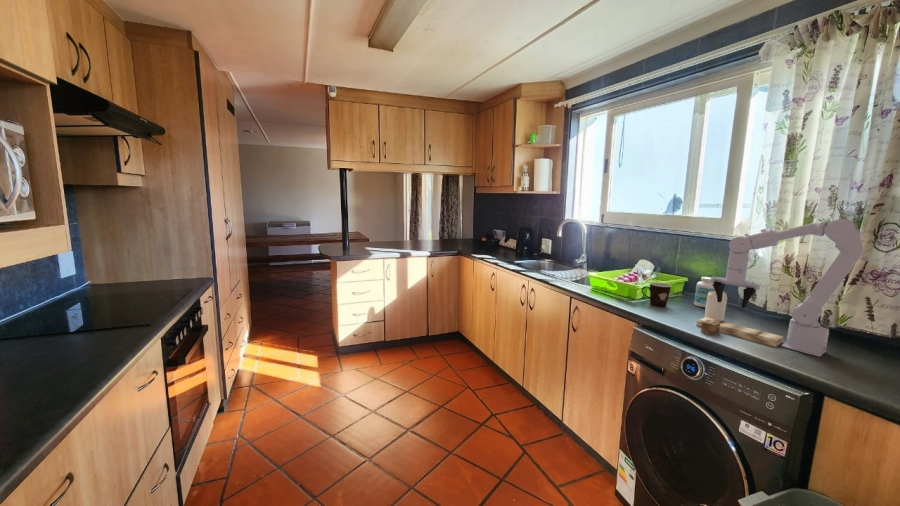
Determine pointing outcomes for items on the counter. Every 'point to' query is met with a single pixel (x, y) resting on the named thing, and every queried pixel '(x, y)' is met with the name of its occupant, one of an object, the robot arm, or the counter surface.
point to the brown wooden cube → (710, 327)
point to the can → (715, 306)
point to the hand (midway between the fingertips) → (731, 304)
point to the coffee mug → (658, 294)
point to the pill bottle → (703, 291)
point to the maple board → (746, 332)
